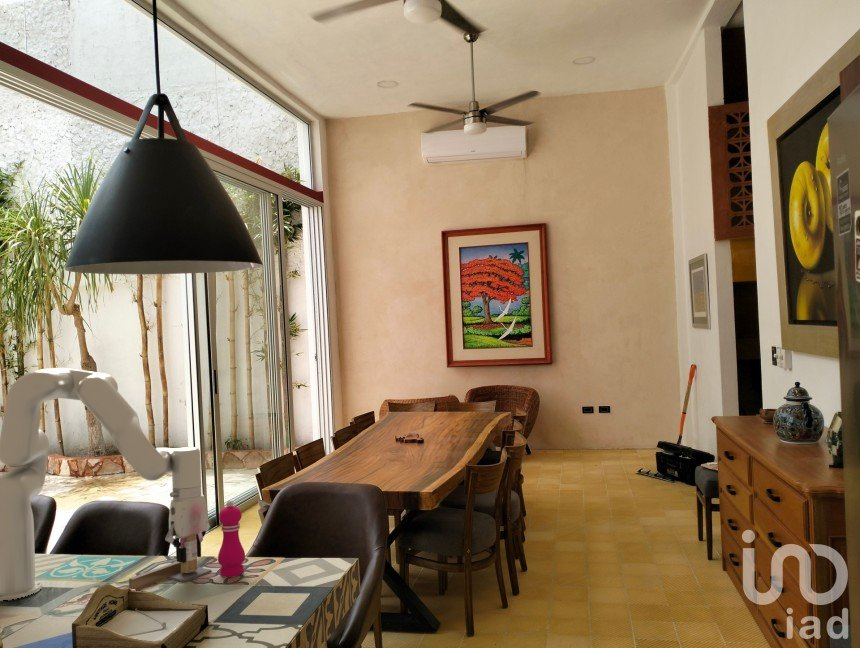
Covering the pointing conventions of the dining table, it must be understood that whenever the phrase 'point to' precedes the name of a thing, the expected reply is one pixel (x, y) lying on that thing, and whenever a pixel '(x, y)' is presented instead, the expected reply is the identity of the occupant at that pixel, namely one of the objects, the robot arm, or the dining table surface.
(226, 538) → the pepper mill
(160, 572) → the guide rail
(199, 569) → the end pad
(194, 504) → the robot arm
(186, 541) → the sprinkles bottle
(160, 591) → the dining table surface
